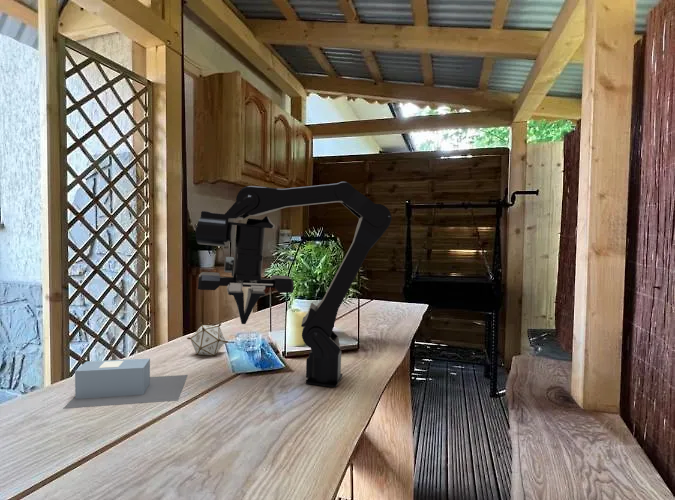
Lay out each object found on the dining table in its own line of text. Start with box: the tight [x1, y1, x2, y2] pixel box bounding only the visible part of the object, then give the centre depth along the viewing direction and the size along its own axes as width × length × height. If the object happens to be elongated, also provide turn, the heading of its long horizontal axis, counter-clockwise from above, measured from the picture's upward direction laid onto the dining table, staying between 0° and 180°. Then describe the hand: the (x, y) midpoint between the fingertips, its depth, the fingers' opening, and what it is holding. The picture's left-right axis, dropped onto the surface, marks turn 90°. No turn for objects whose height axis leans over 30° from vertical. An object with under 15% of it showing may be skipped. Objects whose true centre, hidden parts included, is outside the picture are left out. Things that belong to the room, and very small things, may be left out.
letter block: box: [74, 358, 151, 399], centre depth 71 cm, size 5×5×11 cm
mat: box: [62, 374, 189, 410], centre depth 72 cm, size 18×12×1 cm, turn 104°
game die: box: [186, 321, 229, 357], centre depth 93 cm, size 9×8×10 cm
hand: (243, 323), depth 80 cm, fingers closed
